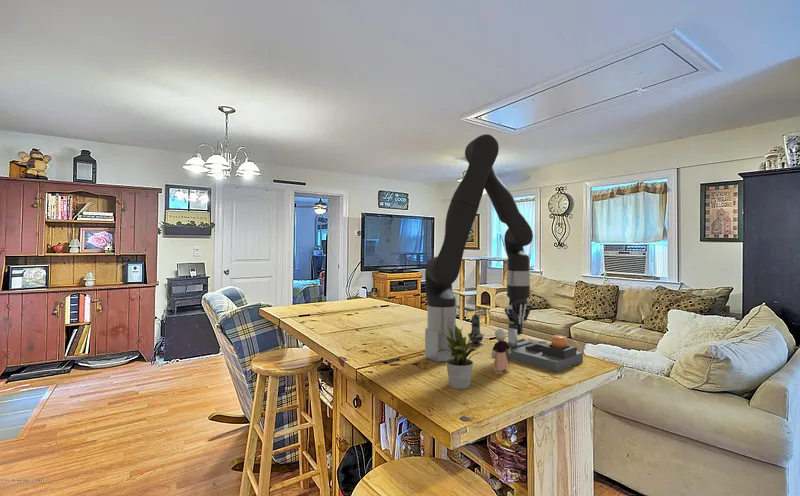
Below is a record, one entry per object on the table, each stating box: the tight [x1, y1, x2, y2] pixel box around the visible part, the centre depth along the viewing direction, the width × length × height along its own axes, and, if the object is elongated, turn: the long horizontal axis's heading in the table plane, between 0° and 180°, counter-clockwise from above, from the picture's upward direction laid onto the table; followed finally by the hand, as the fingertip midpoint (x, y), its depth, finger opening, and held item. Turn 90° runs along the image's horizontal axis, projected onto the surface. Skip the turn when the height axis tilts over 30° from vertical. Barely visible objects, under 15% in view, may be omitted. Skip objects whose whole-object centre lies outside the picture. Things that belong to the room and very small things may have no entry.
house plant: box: [432, 324, 486, 390], centre depth 99 cm, size 14×14×16 cm
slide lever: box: [507, 322, 518, 346], centre depth 126 cm, size 2×3×7 cm, turn 39°
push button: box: [551, 334, 568, 349], centre depth 116 cm, size 4×4×3 cm
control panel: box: [495, 338, 584, 373], centre depth 122 cm, size 16×22×6 cm
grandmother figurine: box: [490, 328, 511, 376], centre depth 108 cm, size 8×4×13 cm, turn 135°
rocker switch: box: [527, 338, 548, 345], centre depth 122 cm, size 5×4×1 cm
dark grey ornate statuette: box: [467, 312, 485, 347], centre depth 140 cm, size 6×6×12 cm
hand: (518, 334), depth 128 cm, fingers closed
